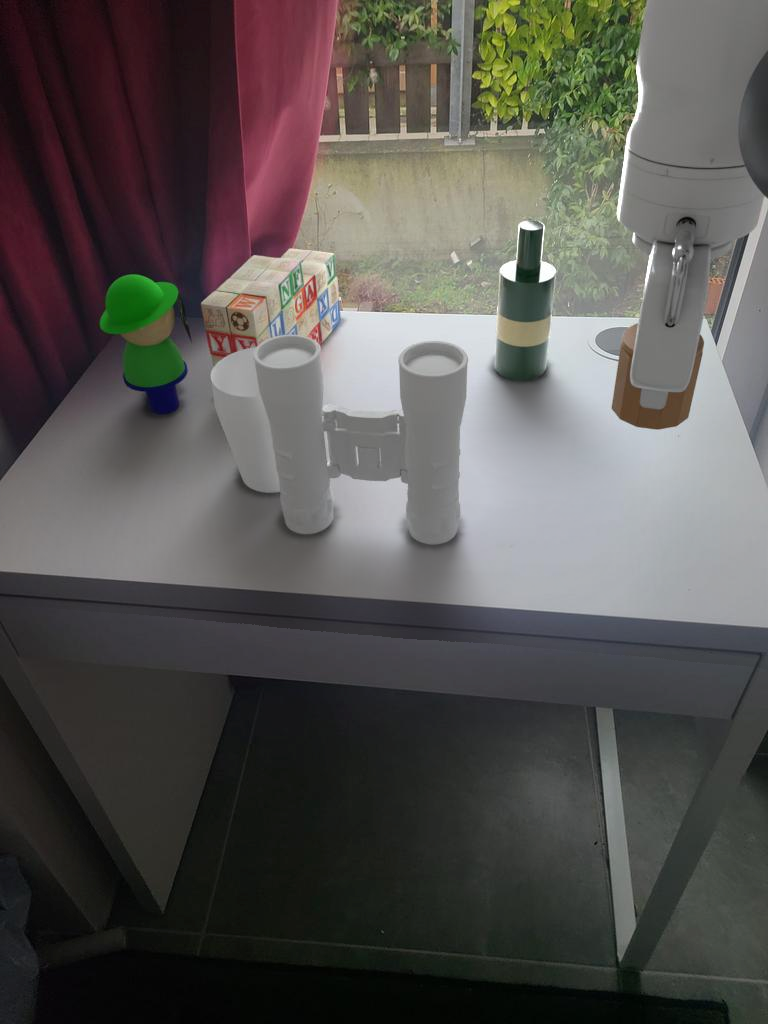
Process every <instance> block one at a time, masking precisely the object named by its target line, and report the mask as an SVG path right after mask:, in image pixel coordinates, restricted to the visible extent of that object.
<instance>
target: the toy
mask: <svg viewBox="0 0 768 1024" xmlns="http://www.w3.org/2000/svg"><path fill="white" fill-rule="evenodd" d="M176 301H177V306H178V311H179V316H180V320H181V322H182V324H183V326H184V329H185V331H186V333H187V335H188V338H189V340H190V343H193V341H192V336H191V332H190V327H189V323H188V318H187V313H186V309H185V304H184V302H183V301H182V298H181V296H180V293H179V289H178V288H177V286H176V285H175V283H174V282H173V283H170V282H166V281H158V282H154V280H152V279H150V278H148V277H146V276H144V275H140V274H126V275H123V276H121V277H118V278H117V279H116V280H114V281H113V283H111V285H110V286H109V288H108V290H107V292H106V296H105V310H104V311H103V313H102V315H101V316H100V320H99V327H100V329H101V331H103V332H104V333H106V334H110V335H120V336H121V337H122V338H123V339H124V340H126V341H127V342H126V345H125V347H124V350H123V356H122V368H123V373H122V380H123V382H124V384H125V386H126V387H128V388H129V389H130V390H132V391H137V392H143V393H145V394H146V399H147V402H148V406H149V410H150V412H151V413H153V414H155V415H161V416H163V415H168V414H171V413H174V412H175V411H176V410H178V409H179V407H180V401H179V395H178V391H177V385H178V384H179V383H181V382H182V381H184V379H186V377H187V375H188V373H189V372H188V371H189V369H188V365H187V363H186V361H185V360H184V359H183V356H182V354H181V352H180V350H179V349H178V347H177V346H176V344H175V343H174V341H173V340H172V339H171V338H170V337H169V336H170V334H172V332H173V330H174V327H175V323H176V312H175V309H174V305H175V303H176Z"/></svg>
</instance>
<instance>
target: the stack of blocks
mask: <svg viewBox="0 0 768 1024" xmlns="http://www.w3.org/2000/svg"><path fill="white" fill-rule="evenodd" d="M335 256H336V255H335V253H334V252H329V251H328V252H326V251H320V250H319V251H318V250H309V249H308V250H307V249H299V248H288V249H287V250H286V252H285V253H283V254H282V256H280V257H272V256H264V255H258V254H257V255H256V254H254V255H252V256H250V257H249V259H247V261H245V262H244V263H243V264H242V266H240V267H239V268H238V269H237V270H236V271H235V272H234V273H232V275H231V276H230V277H229V278H227V279H226V280H225V281H224V282H223V283H221V285H219V287H218V288H217V289H215V290H214V291H212V292H211V293H210V294H209V295H208V296H207V297H206V298H204V299H203V301H201V303H200V309H201V313H202V317H203V318H202V319H203V322H204V327H205V335H206V340H207V346H208V348H209V349H208V350H209V354H210V357H211V361H212V366H213V367H214V366H215V365H216V364H217V363H218V362H219V361H220V360H222V359H223V358H224V357H226V356H228V355H230V354H232V353H235V352H237V351H240V350H244V349H248V348H254V347H257V346H258V345H259V344H260V343H262V342H264V341H265V340H267V339H270V338H273V337H276V336H281V335H302V336H307V337H309V338H312V339H313V340H315V341H316V342H317V343H318V344H319V345H320V346H321V345H322V343H324V341H325V340H326V339H327V338H328V337H329V336H330V334H331V333H332V332H333V331H334V330H335V328H336V327H337V326H338V324H339V323H341V320H342V318H341V317H342V316H341V305H340V291H339V279H338V276H337V268H336V257H335Z"/></svg>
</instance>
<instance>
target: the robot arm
mask: <svg viewBox="0 0 768 1024" xmlns="http://www.w3.org/2000/svg"><path fill="white" fill-rule="evenodd" d="M640 31H641V32H640V39H639V43H638V44H639V45H638V51H637V58H636V76H637V77H636V78H637V84H638V101H637V108H636V111H635V116H634V118H633V121H632V123H631V125H630V128H629V130H628V133H627V136H626V142H625V149H624V159H623V166H622V173H621V180H620V188H619V194H618V195H619V196H618V202H617V211H616V217H617V220H618V222H619V223H620V224H621V225H622V226H623V227H624V228H625V229H626V230H628V231H629V232H631V233H633V234H632V244H633V245H634V247H636V249H637V250H638V251H640V252H642V254H644V255H647V256H649V258H648V264H647V270H646V274H645V281H644V286H643V291H642V298H641V305H640V310H639V316H638V322H637V323H638V328H637V334H636V340H635V346H634V352H633V358H632V364H631V370H630V380H631V384H632V385H633V386H634V387H637V388H642V390H641V396H640V405H641V406H642V407H644V408H651V409H662V408H664V407H665V405H666V401H667V396H668V392H682V391H684V390H685V389H686V388H687V386H688V384H689V381H690V378H691V375H692V371H693V366H694V361H695V356H696V351H697V347H698V342H699V337H700V335H701V332H702V326H703V322H704V317H705V312H706V307H707V300H708V294H709V290H710V289H709V288H710V278H711V277H710V275H711V274H710V273H711V261H712V260H715V259H719V258H720V257H723V256H724V255H726V254H728V252H729V251H730V250H731V248H732V245H733V241H736V240H739V239H741V238H744V237H745V236H748V235H749V234H750V233H752V232H753V231H754V230H755V229H756V227H757V226H758V223H759V219H760V217H761V211H762V208H763V203H764V199H765V198H766V199H768V0H646V2H645V8H644V13H643V19H642V26H641V30H640Z"/></svg>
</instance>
